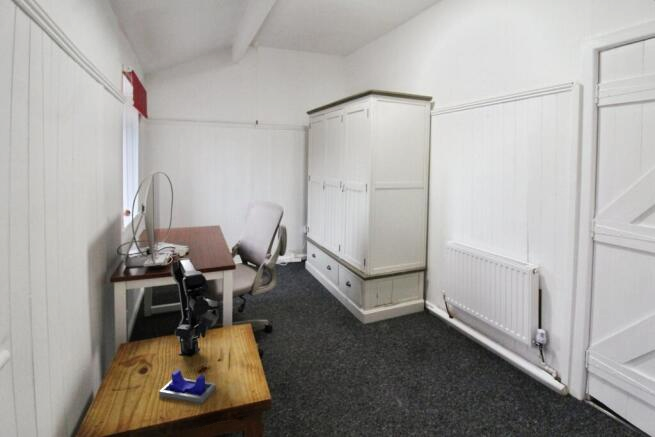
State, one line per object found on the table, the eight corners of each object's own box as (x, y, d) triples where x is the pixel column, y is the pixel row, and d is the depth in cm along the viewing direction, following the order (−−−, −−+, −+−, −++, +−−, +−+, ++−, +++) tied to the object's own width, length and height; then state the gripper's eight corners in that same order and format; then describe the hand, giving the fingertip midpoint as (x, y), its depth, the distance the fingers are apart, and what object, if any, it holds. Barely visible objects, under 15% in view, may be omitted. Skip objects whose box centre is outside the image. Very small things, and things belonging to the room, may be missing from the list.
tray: (159, 396, 130) (159, 391, 130) (175, 381, 139) (174, 376, 139) (202, 404, 127) (202, 398, 126) (215, 388, 135) (215, 383, 135)
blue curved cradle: (169, 391, 132) (168, 376, 131) (178, 384, 137) (177, 369, 136) (197, 398, 129) (197, 382, 128) (205, 390, 133) (205, 375, 132)
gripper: (200, 317, 131) (202, 358, 133) (226, 298, 149) (227, 334, 151) (172, 314, 133) (175, 354, 136) (201, 295, 151) (203, 331, 154)
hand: (197, 342), depth 144 cm, fingers open, 9 cm apart
